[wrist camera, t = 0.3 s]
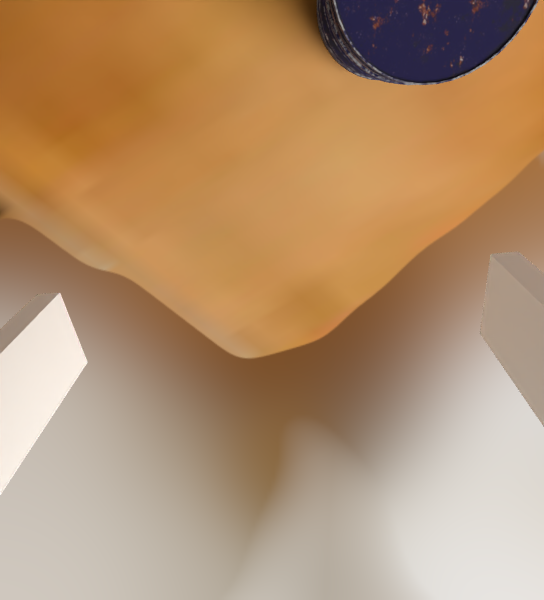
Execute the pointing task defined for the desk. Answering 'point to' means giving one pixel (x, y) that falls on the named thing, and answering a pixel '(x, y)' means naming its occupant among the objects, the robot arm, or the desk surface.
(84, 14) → the desk surface
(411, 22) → the rusty blue oil drum
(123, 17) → the desk surface
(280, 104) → the desk surface
